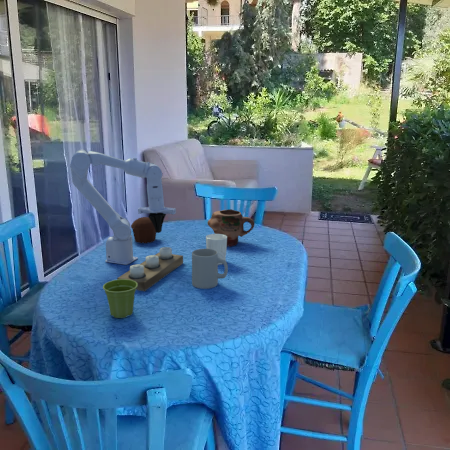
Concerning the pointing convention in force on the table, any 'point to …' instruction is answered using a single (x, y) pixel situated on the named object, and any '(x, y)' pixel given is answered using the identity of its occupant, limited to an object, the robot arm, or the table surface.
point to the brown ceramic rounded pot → (230, 225)
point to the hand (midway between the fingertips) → (158, 232)
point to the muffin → (143, 230)
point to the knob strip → (155, 272)
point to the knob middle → (152, 261)
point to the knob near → (137, 271)
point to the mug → (206, 268)
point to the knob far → (165, 252)
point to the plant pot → (120, 297)
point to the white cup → (217, 244)
